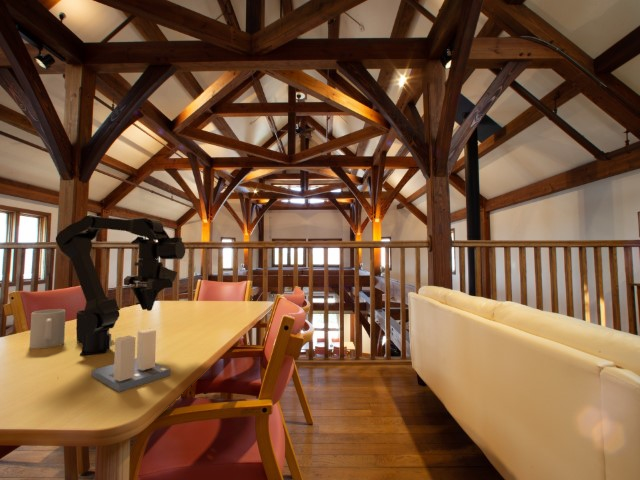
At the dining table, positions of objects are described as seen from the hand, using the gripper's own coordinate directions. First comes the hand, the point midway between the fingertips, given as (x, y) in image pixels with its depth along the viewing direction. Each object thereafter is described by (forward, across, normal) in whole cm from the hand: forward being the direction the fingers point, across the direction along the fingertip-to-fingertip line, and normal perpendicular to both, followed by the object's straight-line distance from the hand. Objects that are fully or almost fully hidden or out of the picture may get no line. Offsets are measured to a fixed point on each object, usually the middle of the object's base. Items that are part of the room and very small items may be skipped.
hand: (146, 310), depth 93 cm
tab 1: (+11, -20, +14) cm, 27 cm away
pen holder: (+13, +30, +4) cm, 33 cm away
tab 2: (+11, -17, +8) cm, 22 cm away
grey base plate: (+13, -15, +10) cm, 22 cm away
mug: (+13, +32, +15) cm, 38 cm away
